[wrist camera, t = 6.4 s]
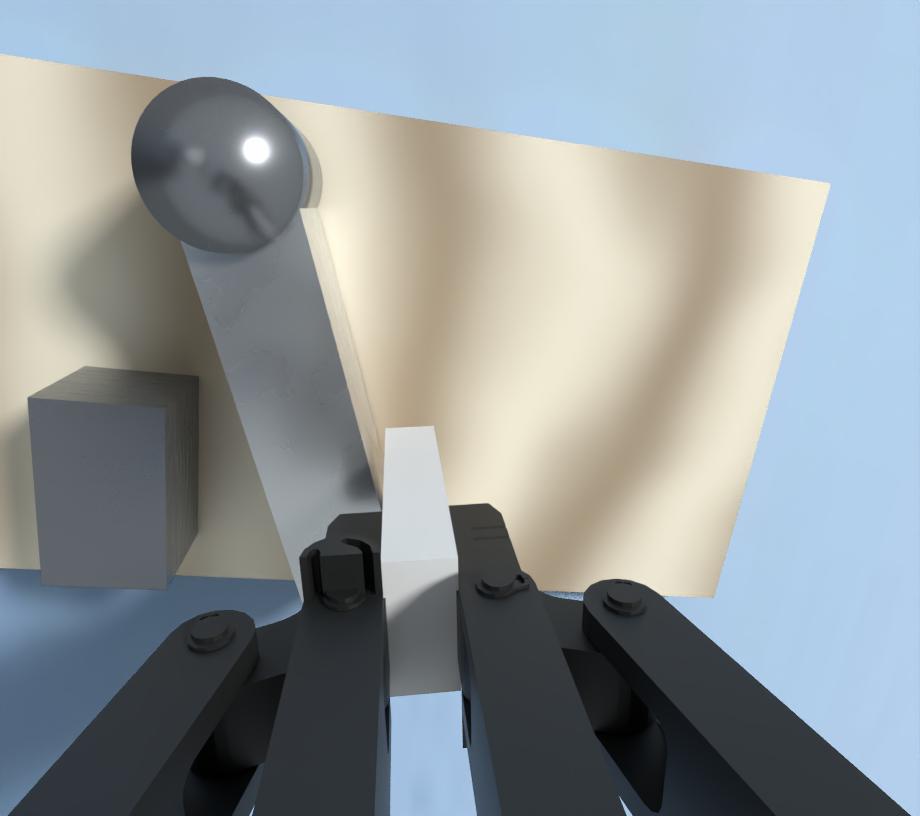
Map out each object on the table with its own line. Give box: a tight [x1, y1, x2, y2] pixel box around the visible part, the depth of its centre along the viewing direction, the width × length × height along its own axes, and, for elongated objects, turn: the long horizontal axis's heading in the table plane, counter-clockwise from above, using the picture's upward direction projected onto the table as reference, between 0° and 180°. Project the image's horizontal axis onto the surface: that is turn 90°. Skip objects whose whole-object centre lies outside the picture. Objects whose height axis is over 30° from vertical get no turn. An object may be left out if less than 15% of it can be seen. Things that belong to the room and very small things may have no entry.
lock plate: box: [0, 54, 831, 598], centre depth 19 cm, size 24×14×2 cm, turn 83°
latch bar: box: [131, 77, 384, 604], centre depth 16 cm, size 13×3×4 cm, turn 11°
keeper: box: [27, 366, 199, 590], centre depth 17 cm, size 3×5×3 cm, turn 173°
